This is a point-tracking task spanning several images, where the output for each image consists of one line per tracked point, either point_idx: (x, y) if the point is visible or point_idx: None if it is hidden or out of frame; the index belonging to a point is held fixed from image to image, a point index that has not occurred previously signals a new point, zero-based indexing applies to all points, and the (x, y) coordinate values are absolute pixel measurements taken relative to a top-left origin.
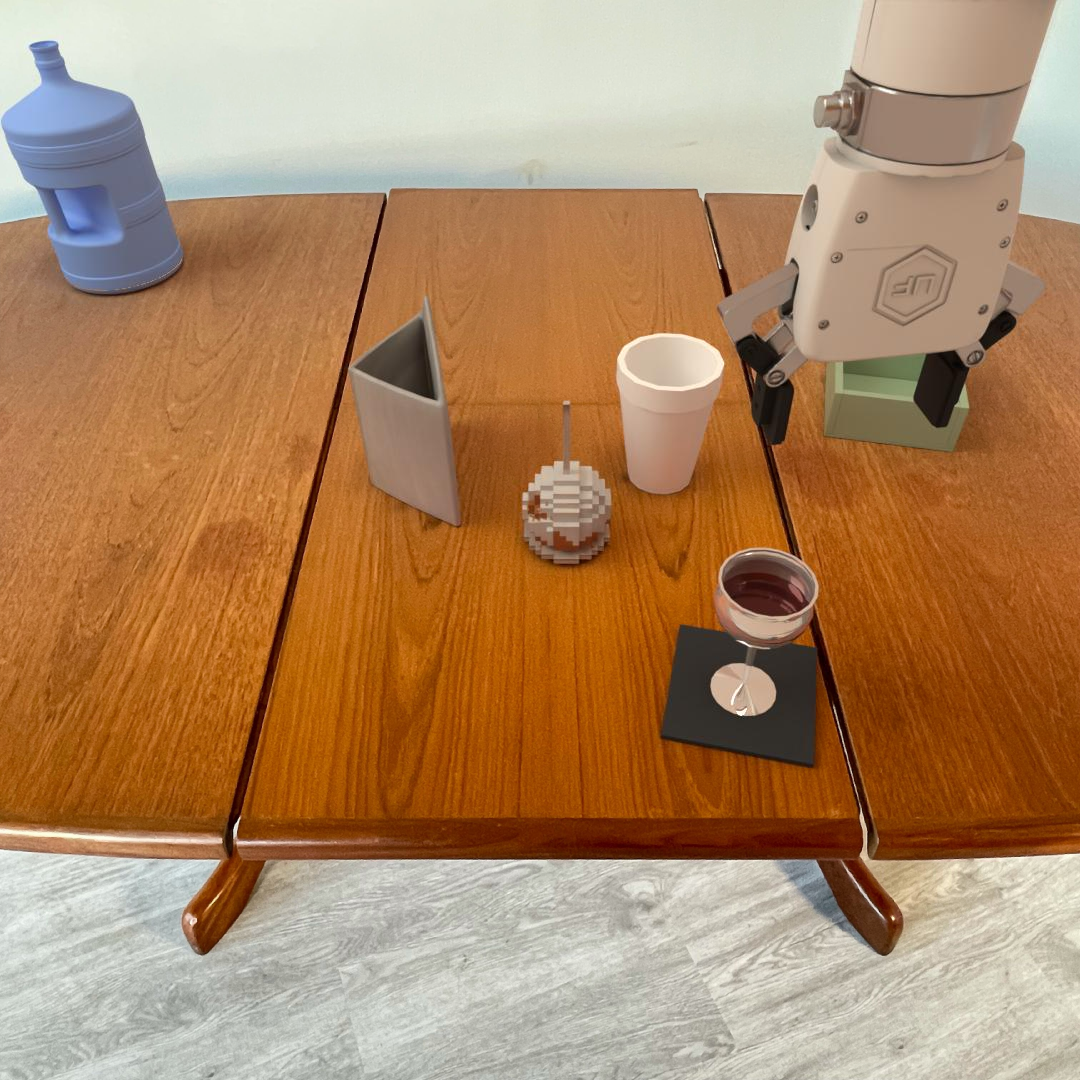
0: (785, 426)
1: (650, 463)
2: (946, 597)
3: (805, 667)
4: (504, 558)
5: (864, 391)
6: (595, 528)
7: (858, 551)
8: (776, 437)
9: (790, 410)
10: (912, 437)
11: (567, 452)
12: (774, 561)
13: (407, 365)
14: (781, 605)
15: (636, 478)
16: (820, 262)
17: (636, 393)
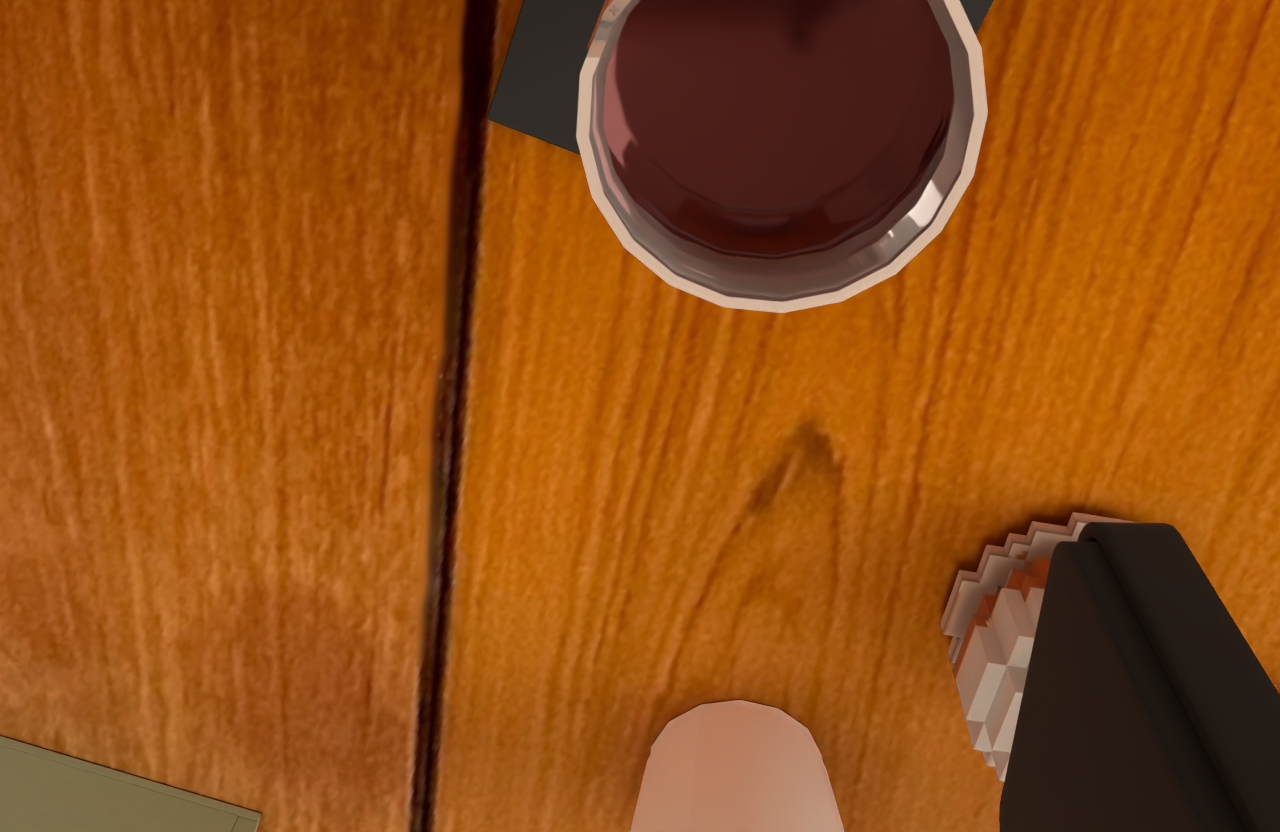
0: (1135, 641)
1: (799, 789)
2: (60, 248)
3: (543, 48)
4: (1260, 563)
5: None
6: (1042, 597)
7: (269, 440)
8: (1183, 563)
9: (1177, 778)
10: (28, 772)
11: None
12: (689, 255)
13: None
14: (698, 82)
15: (817, 756)
16: None
17: None
